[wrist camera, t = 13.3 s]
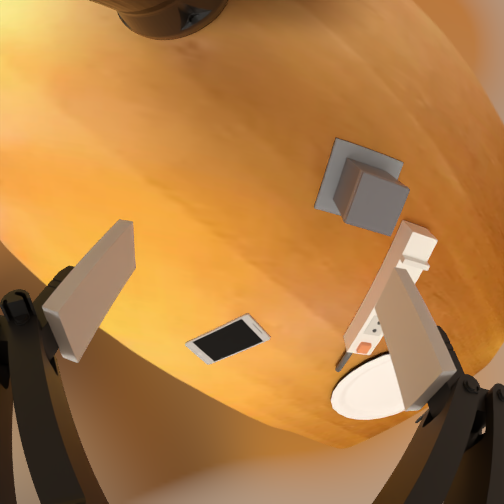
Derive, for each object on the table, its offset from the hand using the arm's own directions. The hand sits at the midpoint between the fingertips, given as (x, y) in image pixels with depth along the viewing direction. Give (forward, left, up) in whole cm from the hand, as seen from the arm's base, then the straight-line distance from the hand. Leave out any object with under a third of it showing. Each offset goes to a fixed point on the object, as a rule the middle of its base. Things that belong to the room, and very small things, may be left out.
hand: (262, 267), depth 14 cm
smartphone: (+34, 0, -27) cm, 43 cm away
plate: (+41, +40, -27) cm, 64 cm away
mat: (0, +12, -26) cm, 29 cm away
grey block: (0, +12, -26) cm, 28 cm away
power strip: (+19, +23, -26) cm, 40 cm away
